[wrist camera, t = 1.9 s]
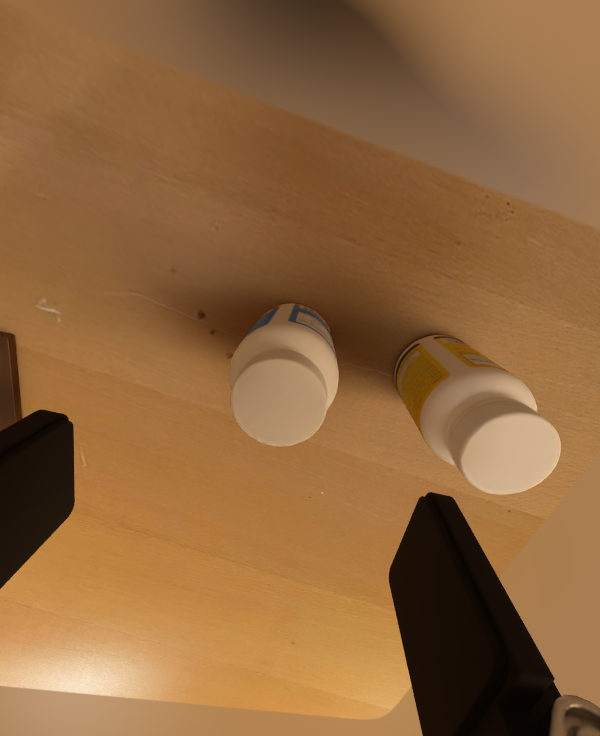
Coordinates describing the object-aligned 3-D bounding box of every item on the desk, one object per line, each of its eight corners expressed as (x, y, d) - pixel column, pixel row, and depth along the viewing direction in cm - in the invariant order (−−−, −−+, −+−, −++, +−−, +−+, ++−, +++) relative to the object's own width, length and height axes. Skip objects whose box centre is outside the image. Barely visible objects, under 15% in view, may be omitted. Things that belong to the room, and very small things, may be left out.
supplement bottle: (404, 416, 24) (455, 520, 15) (383, 348, 22) (427, 418, 13) (481, 394, 23) (587, 491, 14) (465, 321, 21) (574, 377, 12)
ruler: (-27, 325, 24) (-36, 327, 23) (15, 335, 24) (7, 337, 23) (1, 534, 30) (-5, 540, 30) (33, 541, 30) (27, 547, 30)
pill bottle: (260, 382, 24) (223, 466, 15) (246, 307, 22) (194, 349, 13) (337, 374, 23) (348, 456, 14) (329, 297, 21) (336, 333, 12)
